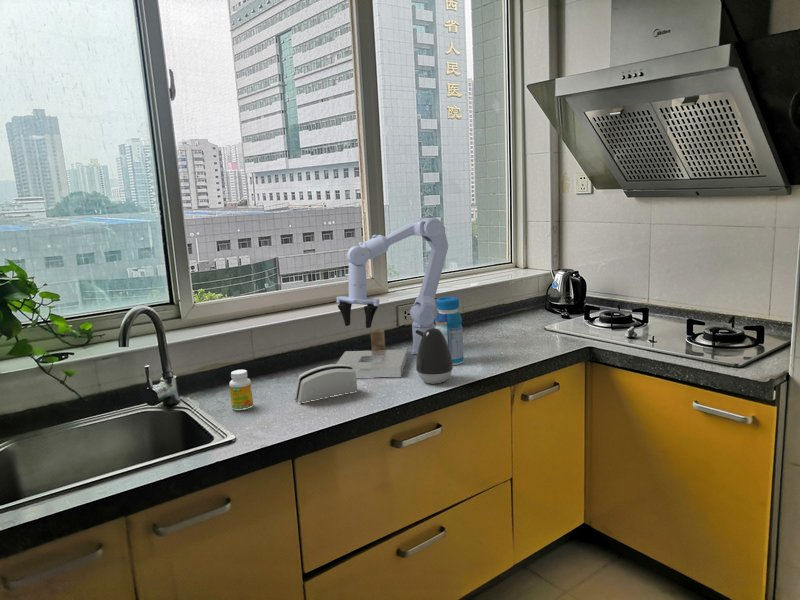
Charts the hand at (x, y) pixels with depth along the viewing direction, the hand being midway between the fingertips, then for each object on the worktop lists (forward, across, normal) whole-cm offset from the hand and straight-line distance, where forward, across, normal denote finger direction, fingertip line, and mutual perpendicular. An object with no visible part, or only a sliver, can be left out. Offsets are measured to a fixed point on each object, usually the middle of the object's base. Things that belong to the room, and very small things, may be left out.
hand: (358, 326), depth 192 cm
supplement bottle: (+14, -8, -47) cm, 50 cm away
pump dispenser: (+10, +32, -14) cm, 37 cm away
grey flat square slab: (+11, +9, -8) cm, 16 cm away
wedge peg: (+11, +4, +8) cm, 14 cm away
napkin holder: (+12, +9, -34) cm, 37 cm away
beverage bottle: (+10, +30, +4) cm, 32 cm away
